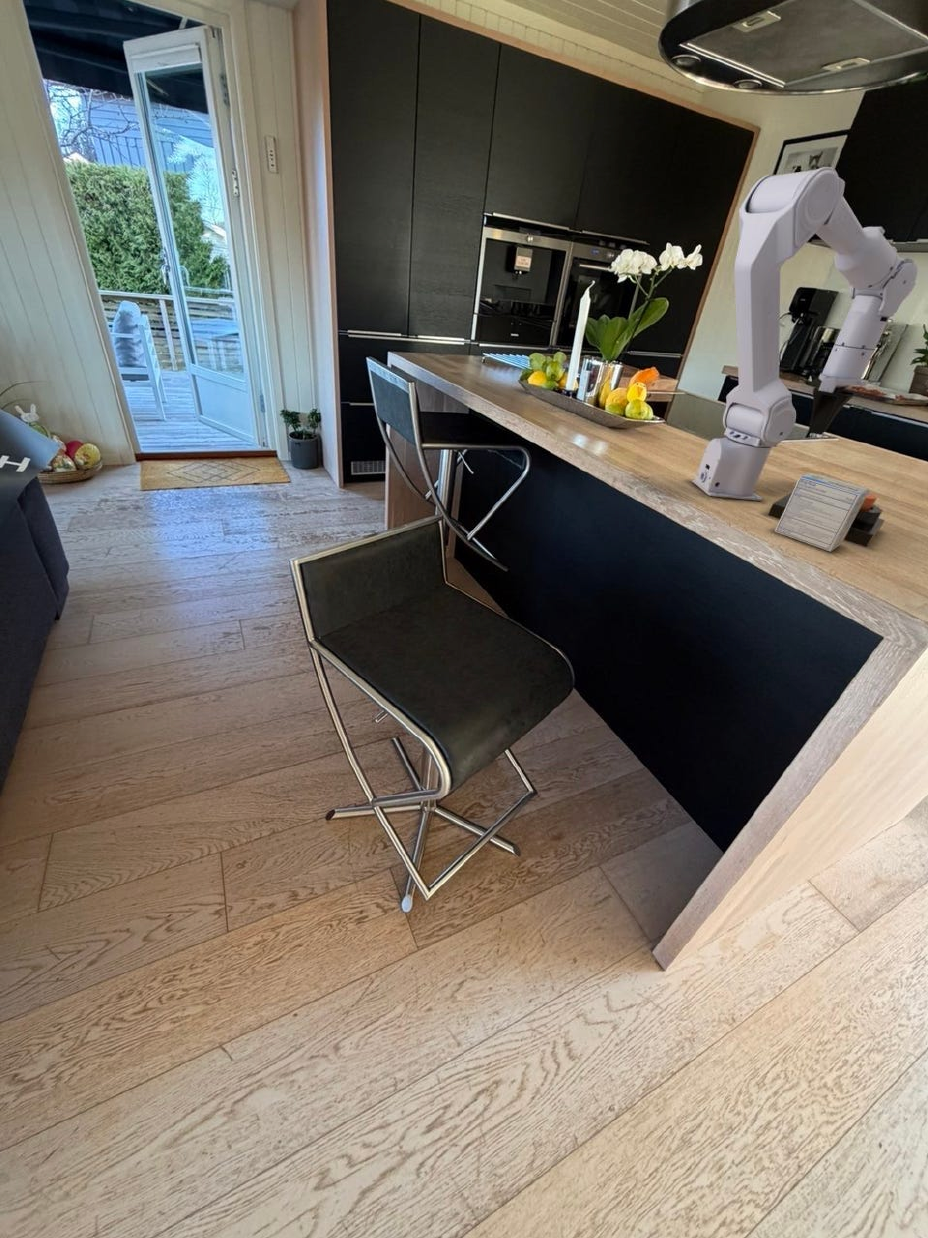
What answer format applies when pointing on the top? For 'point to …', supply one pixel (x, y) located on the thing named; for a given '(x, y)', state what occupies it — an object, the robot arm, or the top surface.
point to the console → (858, 532)
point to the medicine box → (821, 510)
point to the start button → (868, 502)
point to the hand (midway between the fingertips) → (815, 432)
